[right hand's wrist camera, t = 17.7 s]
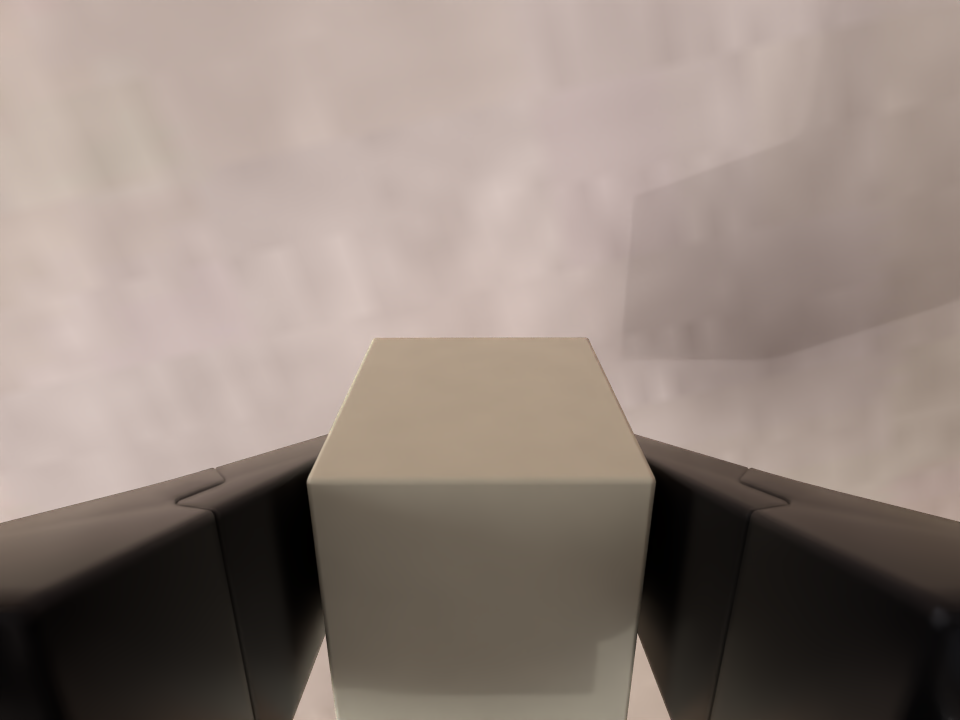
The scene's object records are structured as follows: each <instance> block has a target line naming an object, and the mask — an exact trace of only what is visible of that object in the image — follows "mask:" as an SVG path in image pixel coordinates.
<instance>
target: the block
mask: <svg viewBox="0 0 960 720" xmlns="http://www.w3.org/2000/svg"><path fill="white" fill-rule="evenodd" d="M655 485H656V480H655V477H654V475H653V473H652V471H651V469H650V467H649V465H648V462H647V460H646V458H645V456H644V454H643V452H642V450H641V448H640V446H639V444H638V442H637V439H636V437H635V435H634V433H633V431H632V429H631V427H630V425H629V423H628V421H627V419H626V417H625V414H624V412H623V410H622V408H621V406H620V404H619V402H618V400H617V398H616V396H615V394H614V391H613V389H612V387H611V385H610V383H609V381H608V379H607V377H606V375H605V373H604V371H603V369H602V366H601V364H600V362H599V360H598V358H597V356H596V354H595V352H594V350H593V348H592V346H591V343H590V341H589V339H587V338H375V339H373V340H372V342H371V345H370V347H369V349H368V351H367V353H366V355H365V357H364V359H363V362H362V364H361V366H360V368H359V370H358V372H357V374H356V376H355V379H354V381H353V383H352V385H351V387H350V389H349V391H348V394H347V396H346V398H345V400H344V402H343V404H342V406H341V408H340V411H339V413H338V415H337V417H336V419H335V421H334V423H333V425H332V428H331V430H330V432H329V434H328V436H327V438H326V440H325V443H324V445H323V447H322V449H321V451H320V453H319V455H318V457H317V460H316V462H315V464H314V466H313V468H312V470H311V472H310V474H309V477H308V479H307V490H308V498H309V506H310V514H311V522H312V530H313V538H314V546H315V554H316V562H317V570H318V578H319V586H320V594H321V602H322V609H323V617H324V625H325V633H326V641H327V649H328V657H329V665H330V673H331V681H332V689H333V697H334V705H335V713H336V720H627V714H628V706H629V697H630V689H631V681H632V673H633V665H634V657H635V649H636V640H637V632H638V624H639V616H640V608H641V600H642V591H643V583H644V575H645V567H646V559H647V551H648V543H649V534H650V526H651V518H652V510H653V502H654V494H655Z"/></svg>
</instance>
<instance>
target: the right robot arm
mask: <svg viewBox="0 0 960 720" xmlns="http://www.w3.org/2000/svg"><path fill="white" fill-rule="evenodd" d="M634 435H635V437H636V439H637V442H638V444H639V446H640V448H641V450H642V452H643V454H644V456H645V458H646V460H647V462H648V465H649V467H650V469H651V471H652V473H653V475H654V477H655V480H656V485H655V494H654V502H653V510H652V518H651V526H650V534H649V543H648V551H647V559H646V567H645V575H644V583H643V591H642V600H641V608H640V616H639V624H638V632H637V633H638V635H639V638H640V641H641V643H642V646H643V648H644V651H645V654H646V656H647V659H648V661H649V664H650V667H651V669H652V672H653V674H654V677H655V680H656V682H657V685H658V687H659V690H660V693H661V695H662V698H663V700H664V703H665V706H666V708H667V711H668V713H669V716H670V719H671V720H960V522H958V521H954V520H950V519H946V518H942V517H938V516H934V515H930V514H926V513H922V512H918V511H914V510H910V509H906V508H902V507H898V506H894V505H890V504H886V503H882V502H878V501H874V500H870V499H866V498H862V497H858V496H854V495H850V494H846V493H842V492H838V491H834V490H830V489H826V488H822V487H819V486H815V485H811V484H807V483H803V482H800V481H796V480H792V479H789V478H785V477H782V476H778V475H774V474H771V473H767V472H764V471H760V470H757V469H754V468H749V469H748V468H747V467H744V466H741V465H737V464H734V463H730V462H727V461H724V460H720V459H717V458H714V457H710V456H707V455H703V454H700V453H697V452H693V451H690V450H686V449H683V448H680V447H676V446H673V445H670V444H666V443H663V442H659V441H656V440H653V439H649V438H646V437H642V436H639V435H636V434H634ZM327 436H328V434H327V435H324V436H320V437H317V438H314V439H310V440H307V441H304V442H300V443H297V444H294V445H290V446H287V447H284V448H280V449H277V450H273V451H270V452H267V453H263V454H260V455H257V456H253V457H250V458H247V459H243V460H240V461H237V462H233V463H230V464H226V465H223V466H220V467H217V468H216V469H214V468H210V469H207V470H203V471H200V472H197V473H193V474H190V475H186V476H183V477H179V478H175V479H172V480H168V481H165V482H161V483H157V484H153V485H150V486H146V487H142V488H138V489H134V490H131V491H127V492H123V493H119V494H115V495H111V496H107V497H103V498H99V499H95V500H91V501H87V502H83V503H79V504H75V505H71V506H67V507H63V508H59V509H55V510H51V511H47V512H43V513H39V514H35V515H31V516H27V517H23V518H19V519H15V520H11V521H7V522H3V523H0V720H293V718H294V715H295V713H296V710H297V707H298V705H299V702H300V699H301V697H302V694H303V691H304V689H305V686H306V684H307V681H308V678H309V676H310V673H311V670H312V668H313V665H314V663H315V660H316V657H317V655H318V652H319V649H320V647H321V644H322V641H323V639H324V636H325V634H326V633H325V625H324V617H323V609H322V602H321V594H320V586H319V578H318V570H317V562H316V554H315V546H314V538H313V530H312V522H311V514H310V506H309V498H308V490H307V479H308V477H309V474H310V472H311V470H312V468H313V466H314V464H315V462H316V460H317V457H318V455H319V453H320V451H321V449H322V447H323V445H324V443H325V440H326V438H327Z"/></svg>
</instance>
